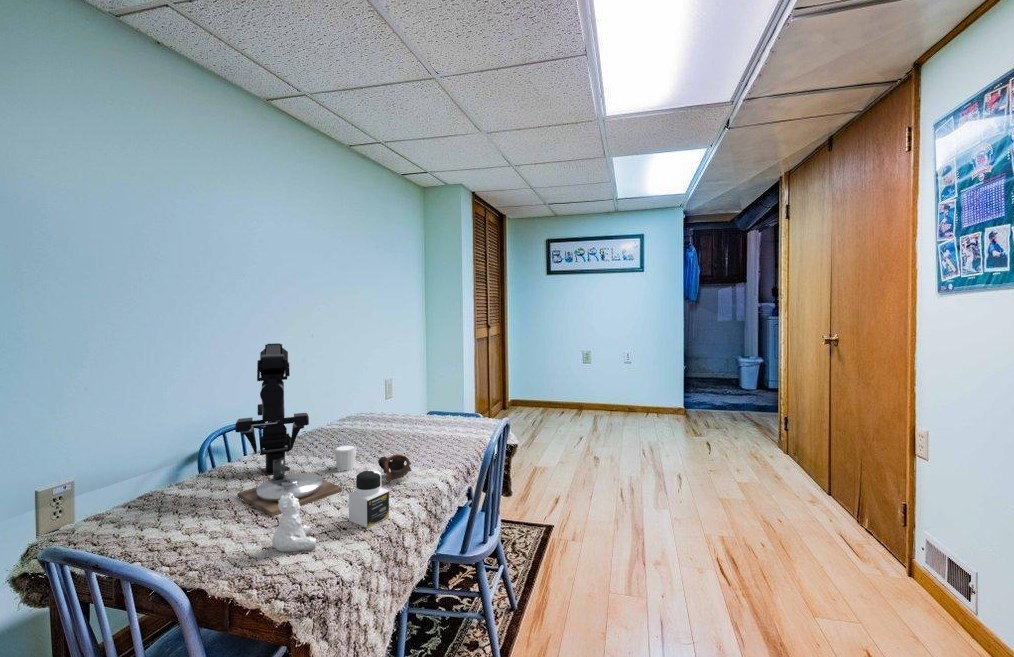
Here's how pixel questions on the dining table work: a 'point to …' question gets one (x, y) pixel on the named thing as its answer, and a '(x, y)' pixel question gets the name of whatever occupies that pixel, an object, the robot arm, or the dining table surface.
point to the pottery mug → (395, 466)
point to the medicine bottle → (368, 500)
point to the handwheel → (288, 484)
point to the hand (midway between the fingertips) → (273, 451)
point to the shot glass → (345, 457)
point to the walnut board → (272, 507)
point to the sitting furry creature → (292, 528)
